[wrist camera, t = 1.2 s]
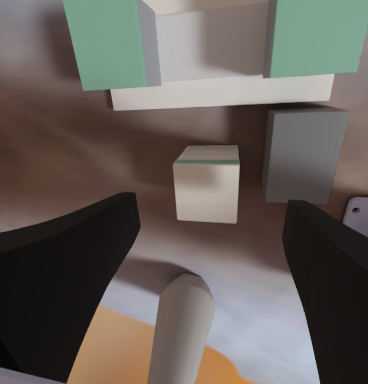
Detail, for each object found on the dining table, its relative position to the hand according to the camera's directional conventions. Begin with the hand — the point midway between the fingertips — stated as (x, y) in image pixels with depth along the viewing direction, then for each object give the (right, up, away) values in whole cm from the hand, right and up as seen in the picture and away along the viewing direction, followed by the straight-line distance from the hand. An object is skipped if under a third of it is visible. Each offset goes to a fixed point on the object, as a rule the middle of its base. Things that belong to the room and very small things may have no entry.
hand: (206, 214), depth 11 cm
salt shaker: (0, -9, +14) cm, 17 cm away
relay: (+7, +4, +6) cm, 10 cm away
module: (+1, +3, +8) cm, 9 cm away
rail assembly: (+1, +11, +4) cm, 12 cm away
